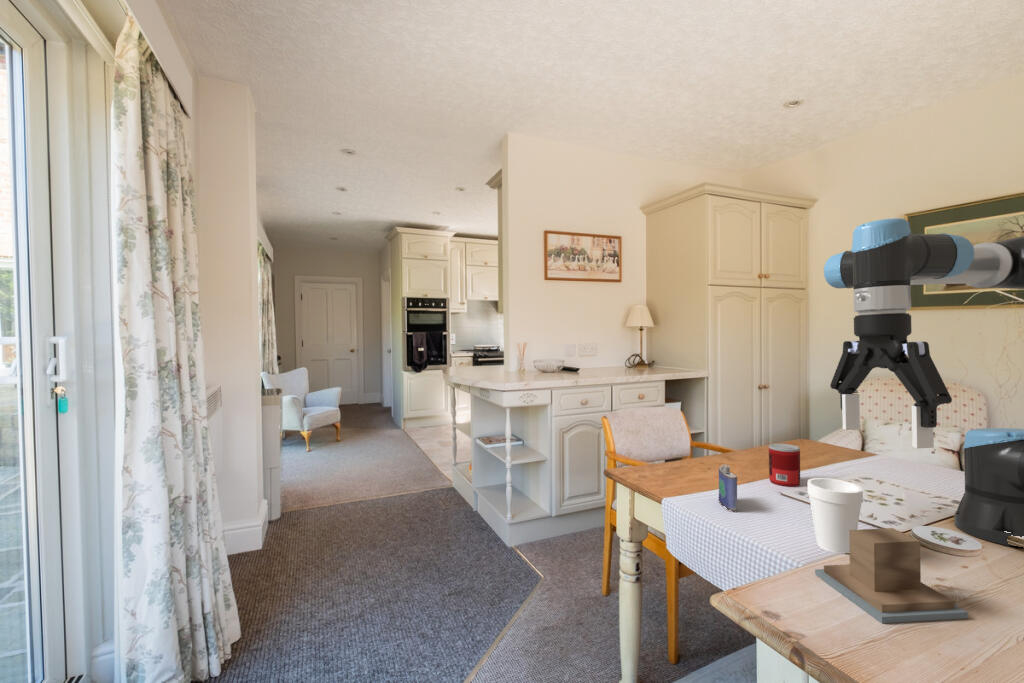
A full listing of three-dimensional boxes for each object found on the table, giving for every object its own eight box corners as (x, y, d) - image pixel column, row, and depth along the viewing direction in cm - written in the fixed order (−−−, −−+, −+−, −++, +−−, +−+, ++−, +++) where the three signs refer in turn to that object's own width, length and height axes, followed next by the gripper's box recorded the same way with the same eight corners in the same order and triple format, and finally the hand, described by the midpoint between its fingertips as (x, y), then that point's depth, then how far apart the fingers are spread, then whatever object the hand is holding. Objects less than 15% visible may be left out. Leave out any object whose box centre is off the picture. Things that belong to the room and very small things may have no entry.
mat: (887, 571, 83) (886, 565, 83) (967, 618, 69) (967, 612, 69) (815, 574, 82) (815, 569, 82) (882, 623, 68) (881, 616, 68)
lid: (886, 568, 82) (885, 519, 82) (954, 608, 70) (953, 550, 70) (824, 572, 81) (823, 522, 81) (881, 612, 69) (881, 554, 69)
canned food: (806, 487, 129) (805, 449, 129) (778, 487, 129) (778, 449, 129) (790, 478, 136) (789, 443, 136) (764, 479, 137) (763, 443, 136)
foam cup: (847, 562, 87) (847, 496, 86) (798, 542, 95) (798, 482, 95) (872, 550, 91) (872, 487, 91) (823, 533, 99) (823, 475, 99)
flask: (739, 512, 112) (738, 470, 111) (727, 512, 112) (726, 469, 112) (727, 499, 121) (726, 460, 121) (715, 498, 121) (714, 459, 121)
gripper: (807, 317, 87) (809, 424, 88) (934, 308, 63) (937, 458, 63) (843, 316, 88) (846, 422, 88) (984, 307, 63) (986, 456, 63)
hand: (883, 437), depth 75 cm, fingers open, 13 cm apart
